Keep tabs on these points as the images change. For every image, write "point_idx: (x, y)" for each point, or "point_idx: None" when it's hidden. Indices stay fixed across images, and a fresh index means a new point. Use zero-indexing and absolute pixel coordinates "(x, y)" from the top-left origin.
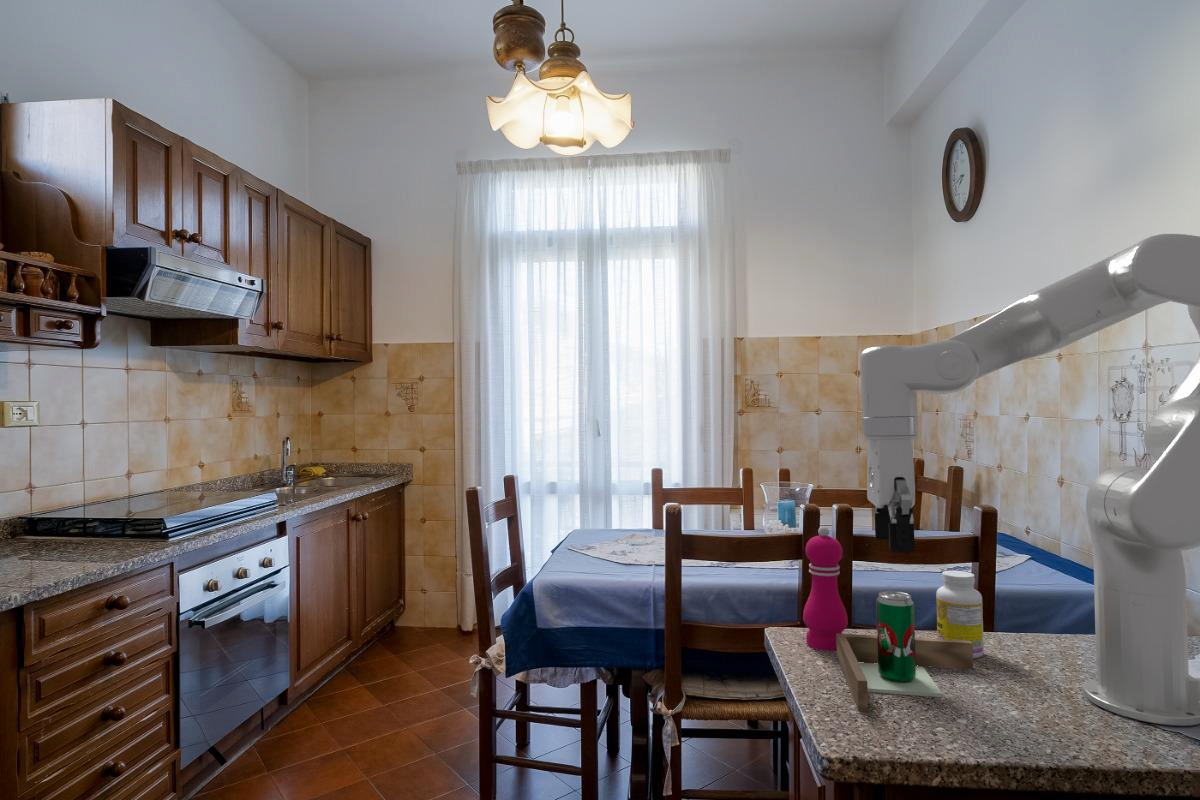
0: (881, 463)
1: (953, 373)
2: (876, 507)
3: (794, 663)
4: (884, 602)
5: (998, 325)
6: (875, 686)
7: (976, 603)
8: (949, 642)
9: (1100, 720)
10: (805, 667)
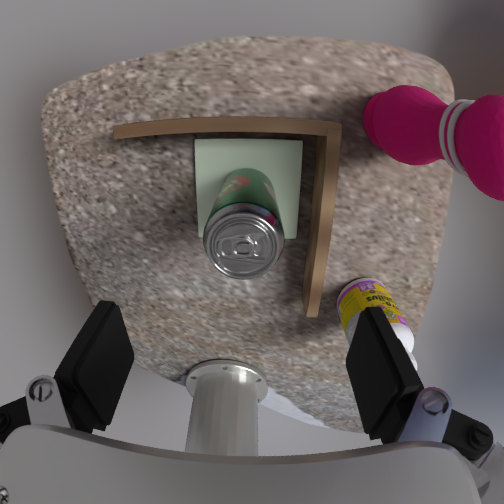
0: None
1: None
2: (416, 418)
3: (298, 51)
4: (216, 215)
5: None
6: (204, 154)
7: None
8: (310, 292)
9: (183, 349)
10: (282, 64)
